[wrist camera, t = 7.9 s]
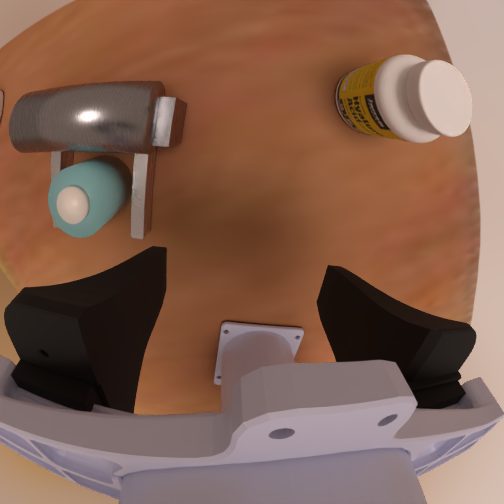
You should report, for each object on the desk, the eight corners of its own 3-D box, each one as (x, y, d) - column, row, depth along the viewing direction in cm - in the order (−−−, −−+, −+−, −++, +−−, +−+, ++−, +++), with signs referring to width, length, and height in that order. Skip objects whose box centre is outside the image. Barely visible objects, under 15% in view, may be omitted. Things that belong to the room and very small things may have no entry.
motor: (171, 232, 21) (150, 273, 15) (50, 217, 20) (7, 247, 14) (189, 91, 17) (168, 75, 11) (54, 95, 15) (4, 94, 9)
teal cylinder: (133, 214, 20) (105, 244, 15) (83, 212, 20) (48, 239, 15) (133, 155, 18) (101, 167, 13) (81, 156, 18) (41, 169, 13)
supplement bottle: (319, 103, 18) (387, 89, 9) (357, 57, 16) (435, 26, 7) (370, 148, 19) (453, 172, 10) (404, 103, 18) (491, 106, 9)
